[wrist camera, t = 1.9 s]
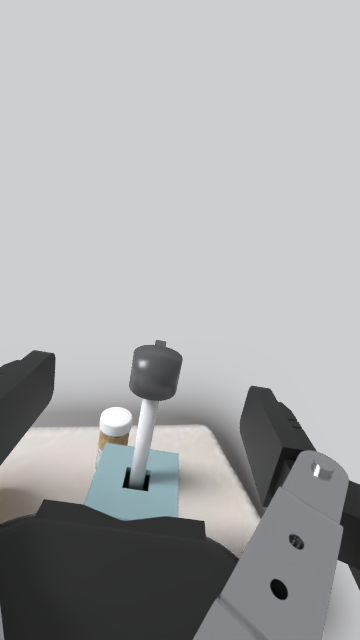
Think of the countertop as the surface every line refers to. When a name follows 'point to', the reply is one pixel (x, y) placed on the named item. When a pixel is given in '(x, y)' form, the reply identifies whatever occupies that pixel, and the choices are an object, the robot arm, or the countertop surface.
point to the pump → (150, 397)
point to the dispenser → (129, 503)
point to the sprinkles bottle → (113, 428)
